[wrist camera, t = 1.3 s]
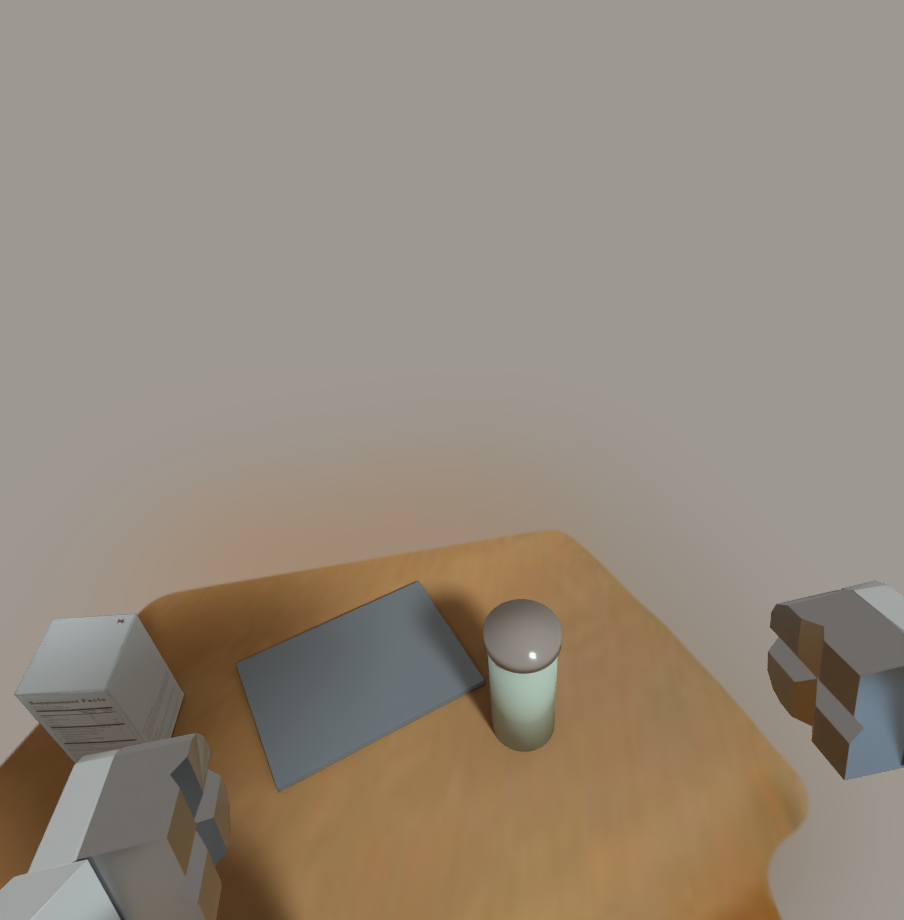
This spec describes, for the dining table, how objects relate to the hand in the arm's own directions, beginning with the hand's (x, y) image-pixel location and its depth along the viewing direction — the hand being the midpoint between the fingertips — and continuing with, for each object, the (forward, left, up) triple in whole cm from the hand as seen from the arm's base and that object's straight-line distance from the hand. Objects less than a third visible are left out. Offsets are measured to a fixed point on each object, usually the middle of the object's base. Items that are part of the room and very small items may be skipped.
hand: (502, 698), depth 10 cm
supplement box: (-16, +39, -48) cm, 64 cm away
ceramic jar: (+15, +22, -48) cm, 55 cm away
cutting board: (+4, +34, -48) cm, 59 cm away
